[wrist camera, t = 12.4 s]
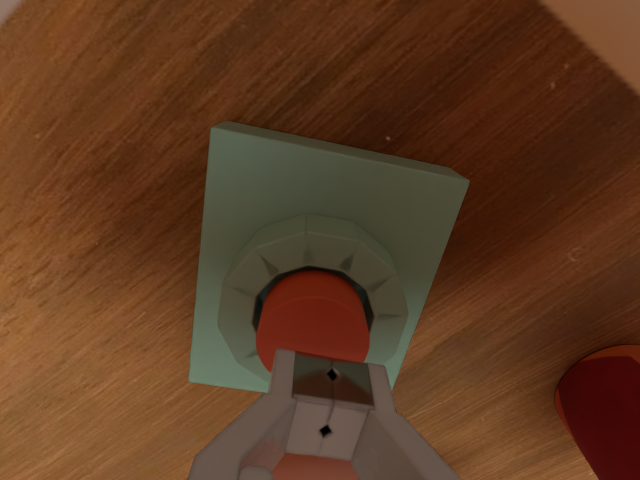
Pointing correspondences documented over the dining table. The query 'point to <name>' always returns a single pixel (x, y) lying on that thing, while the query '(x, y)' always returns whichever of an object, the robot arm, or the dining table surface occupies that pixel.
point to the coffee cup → (605, 410)
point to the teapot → (312, 468)
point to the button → (313, 318)
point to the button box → (313, 241)
